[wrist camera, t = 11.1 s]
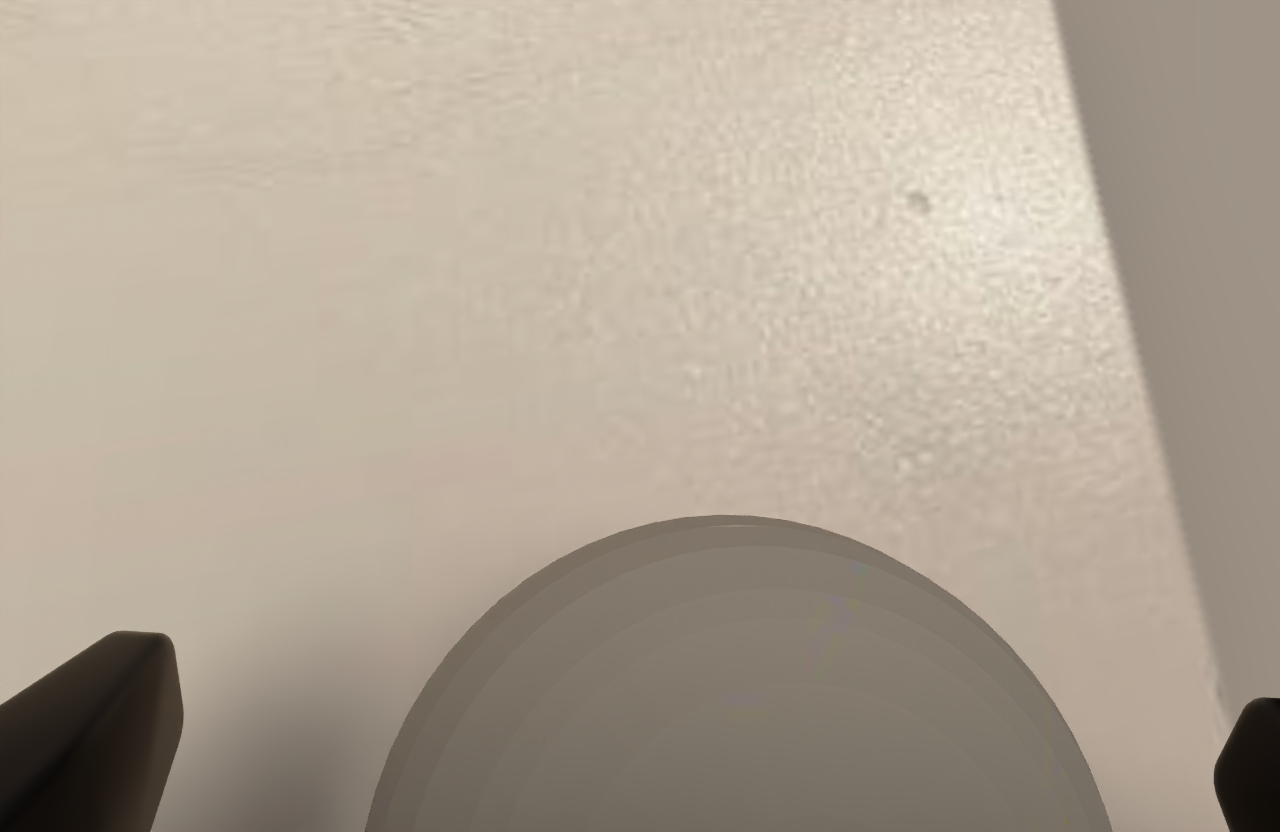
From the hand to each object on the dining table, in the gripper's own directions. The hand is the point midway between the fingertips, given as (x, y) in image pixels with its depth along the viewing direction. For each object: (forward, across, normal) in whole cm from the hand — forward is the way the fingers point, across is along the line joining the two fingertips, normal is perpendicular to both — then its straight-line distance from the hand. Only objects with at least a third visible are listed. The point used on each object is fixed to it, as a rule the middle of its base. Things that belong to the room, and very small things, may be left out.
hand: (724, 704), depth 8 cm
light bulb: (+4, 0, +6) cm, 7 cm away
